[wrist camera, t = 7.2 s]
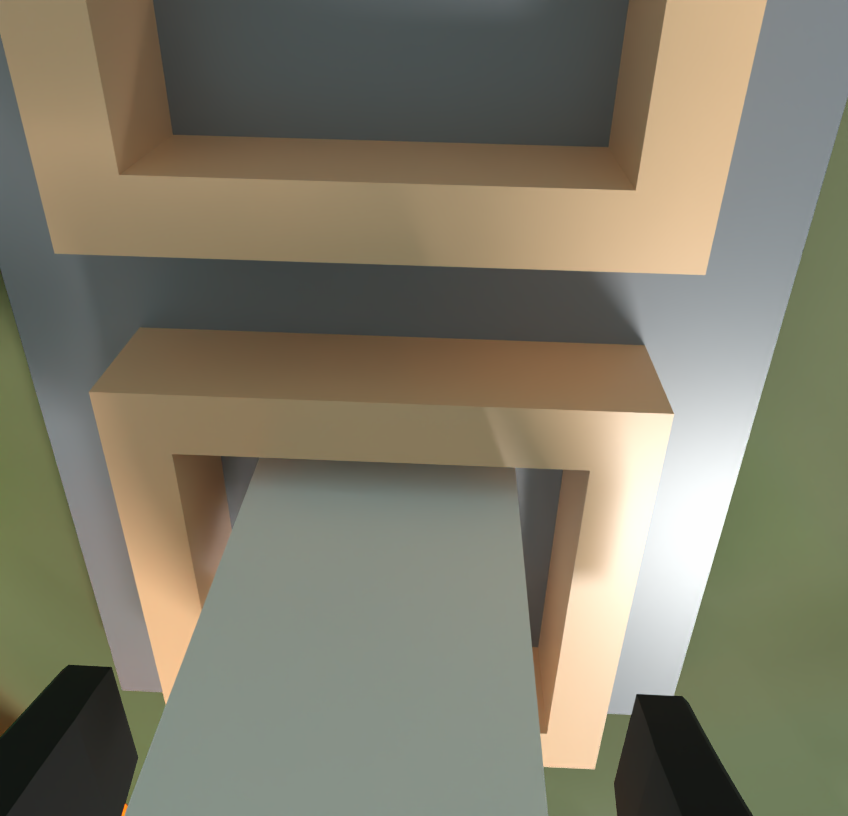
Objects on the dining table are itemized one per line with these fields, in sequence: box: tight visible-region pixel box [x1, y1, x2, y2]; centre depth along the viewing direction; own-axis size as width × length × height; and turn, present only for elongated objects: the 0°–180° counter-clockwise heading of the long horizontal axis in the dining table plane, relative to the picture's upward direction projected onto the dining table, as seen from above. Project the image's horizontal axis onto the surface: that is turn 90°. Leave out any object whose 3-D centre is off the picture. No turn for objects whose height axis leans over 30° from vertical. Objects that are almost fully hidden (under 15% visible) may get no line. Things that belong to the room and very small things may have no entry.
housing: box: [0, 0, 848, 769], centre depth 11 cm, size 12×20×3 cm, turn 179°
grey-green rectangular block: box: [124, 457, 548, 816], centre depth 11 cm, size 4×4×7 cm
